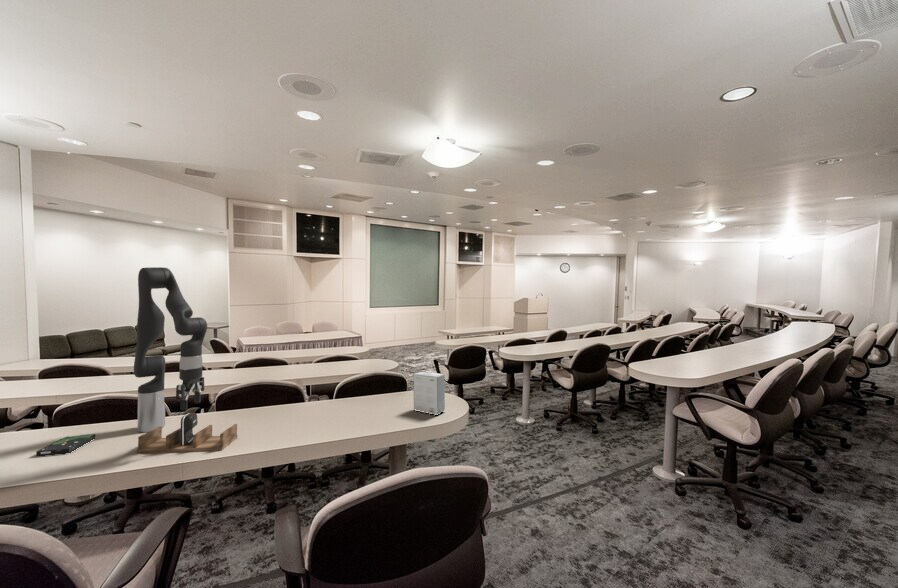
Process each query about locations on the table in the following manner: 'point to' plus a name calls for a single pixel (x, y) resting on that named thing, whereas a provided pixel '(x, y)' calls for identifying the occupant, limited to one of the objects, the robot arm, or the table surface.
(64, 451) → the disk drive
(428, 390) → the hard drive box
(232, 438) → the divider rack
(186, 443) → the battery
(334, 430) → the table surface
